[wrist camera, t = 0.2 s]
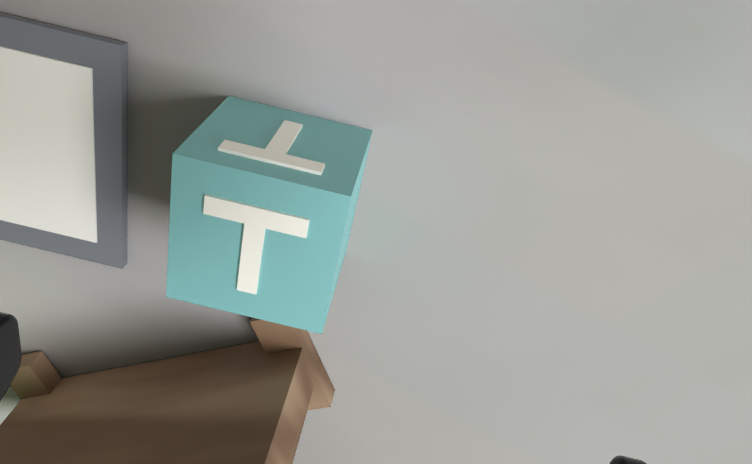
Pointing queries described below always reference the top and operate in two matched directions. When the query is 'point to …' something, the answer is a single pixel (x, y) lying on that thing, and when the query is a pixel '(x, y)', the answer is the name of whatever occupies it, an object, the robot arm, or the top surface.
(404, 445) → the top surface
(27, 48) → the pad
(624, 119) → the top surface
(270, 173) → the letter cube
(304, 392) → the brown wooden block
